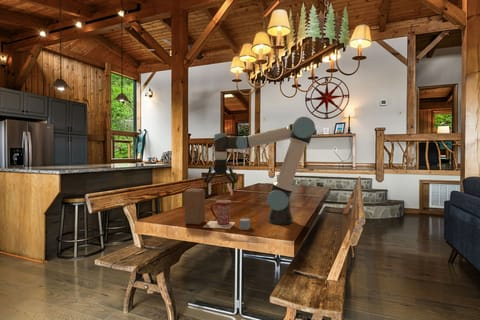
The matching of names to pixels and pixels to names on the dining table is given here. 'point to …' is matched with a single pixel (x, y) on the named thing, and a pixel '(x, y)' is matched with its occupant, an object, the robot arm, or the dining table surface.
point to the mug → (222, 211)
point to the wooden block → (194, 206)
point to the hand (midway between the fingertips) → (220, 194)
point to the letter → (218, 225)
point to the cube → (244, 224)
